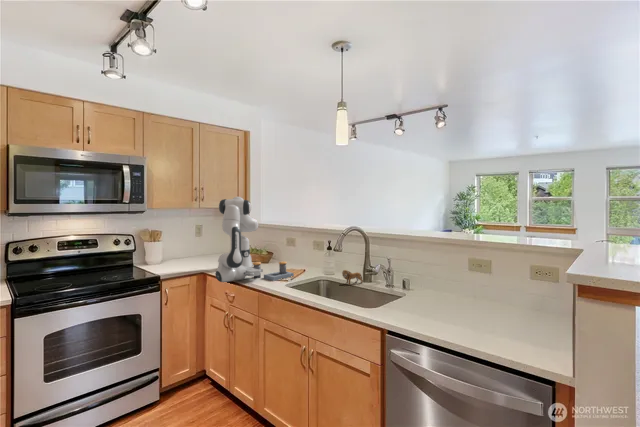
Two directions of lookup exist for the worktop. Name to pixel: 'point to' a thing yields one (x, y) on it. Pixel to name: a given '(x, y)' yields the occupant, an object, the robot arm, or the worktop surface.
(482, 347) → the worktop surface
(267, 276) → the housing
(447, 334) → the worktop surface
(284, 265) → the seated jaw
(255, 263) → the jaw peg
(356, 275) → the lion figurine
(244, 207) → the robot arm
